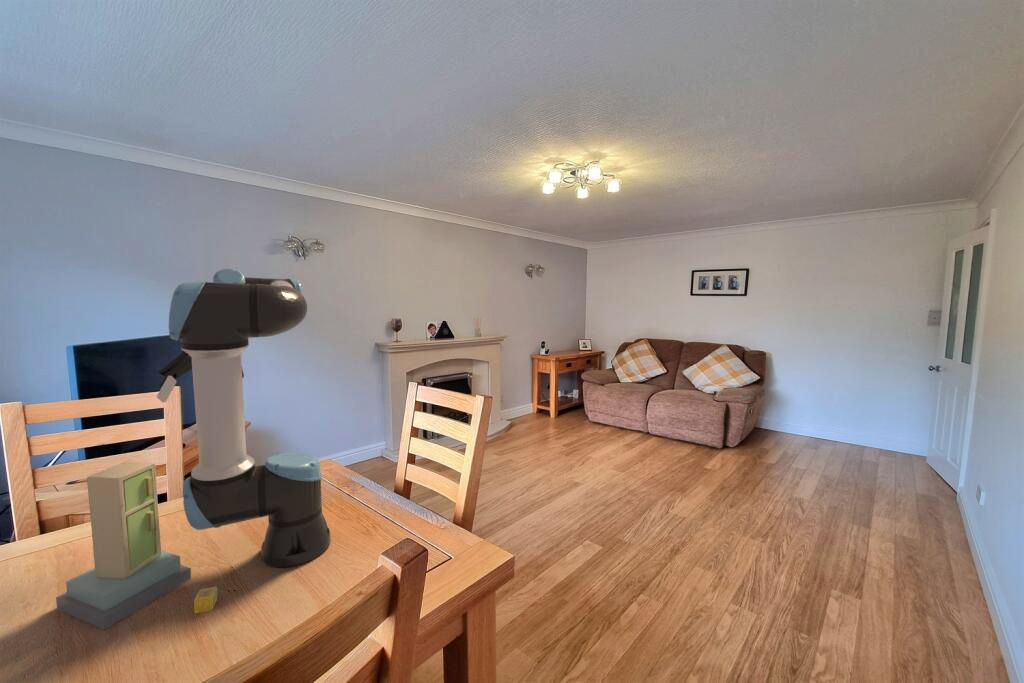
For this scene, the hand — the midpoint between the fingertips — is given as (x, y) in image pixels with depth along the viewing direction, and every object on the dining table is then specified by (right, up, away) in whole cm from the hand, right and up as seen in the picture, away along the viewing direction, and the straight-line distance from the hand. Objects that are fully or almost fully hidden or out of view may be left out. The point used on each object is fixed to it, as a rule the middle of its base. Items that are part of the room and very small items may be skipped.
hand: (189, 399), depth 105 cm
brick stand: (+4, -37, -21) cm, 43 cm away
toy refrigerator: (+4, -32, -21) cm, 38 cm away
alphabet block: (+23, -38, -24) cm, 50 cm away
